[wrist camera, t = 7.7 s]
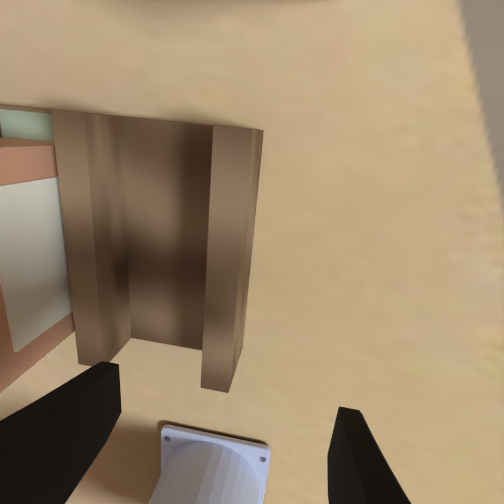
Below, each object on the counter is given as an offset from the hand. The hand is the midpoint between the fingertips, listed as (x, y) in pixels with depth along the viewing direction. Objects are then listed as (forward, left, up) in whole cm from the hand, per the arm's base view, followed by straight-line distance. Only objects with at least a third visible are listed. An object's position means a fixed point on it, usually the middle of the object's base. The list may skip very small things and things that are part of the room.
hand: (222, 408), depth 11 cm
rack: (+2, +12, -9) cm, 15 cm away
